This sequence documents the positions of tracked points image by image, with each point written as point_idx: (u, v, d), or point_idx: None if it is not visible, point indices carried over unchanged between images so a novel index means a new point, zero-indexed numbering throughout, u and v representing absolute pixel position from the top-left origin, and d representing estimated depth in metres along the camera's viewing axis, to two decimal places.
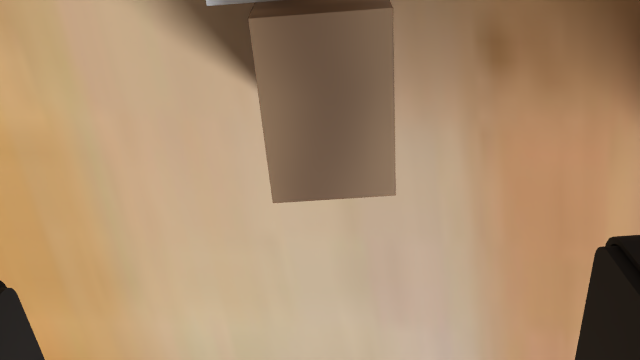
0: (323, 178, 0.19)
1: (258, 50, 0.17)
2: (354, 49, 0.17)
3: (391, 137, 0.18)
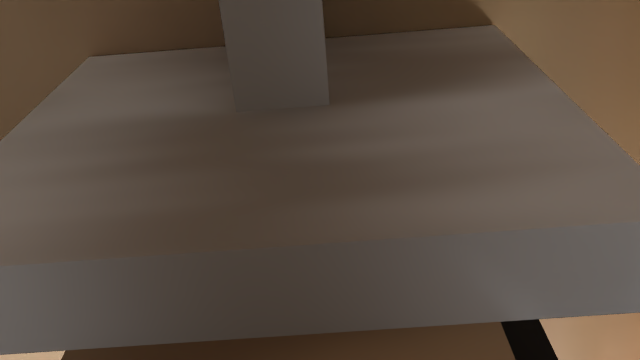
0: None
1: None
2: None
3: None
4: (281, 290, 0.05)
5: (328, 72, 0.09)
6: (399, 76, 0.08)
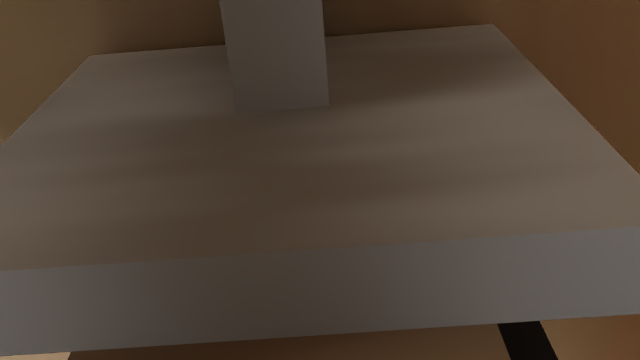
0: None
1: None
2: None
3: None
4: (282, 293, 0.05)
5: (328, 72, 0.09)
6: (399, 77, 0.08)
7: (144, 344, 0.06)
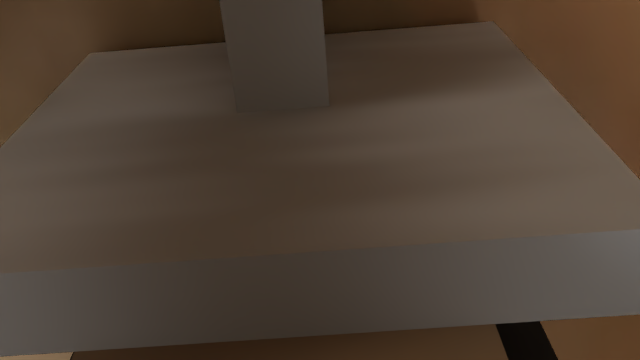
0: None
1: None
2: None
3: None
4: (284, 294, 0.05)
5: (328, 71, 0.09)
6: (398, 76, 0.08)
7: (146, 344, 0.06)
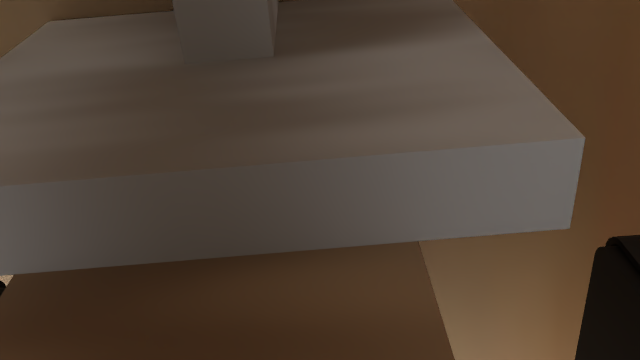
0: None
1: None
2: None
3: None
4: (213, 212, 0.06)
5: (277, 30, 0.09)
6: (343, 32, 0.09)
7: (84, 265, 0.06)
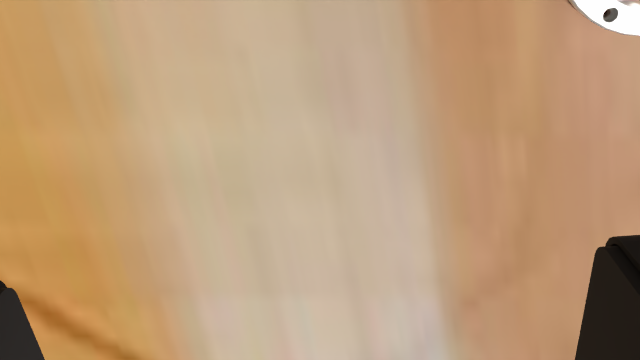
0: None
1: None
2: None
3: None
4: None
5: None
6: None
7: None
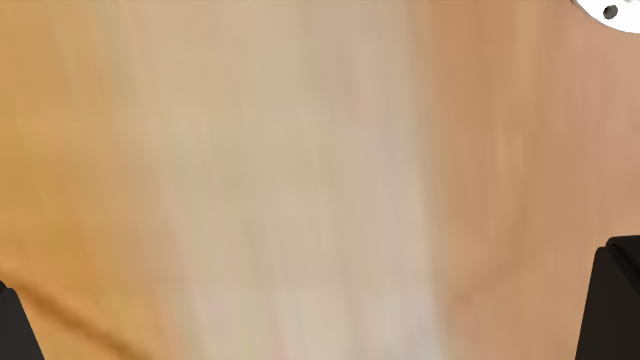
0: None
1: None
2: None
3: None
4: None
5: None
6: None
7: None
